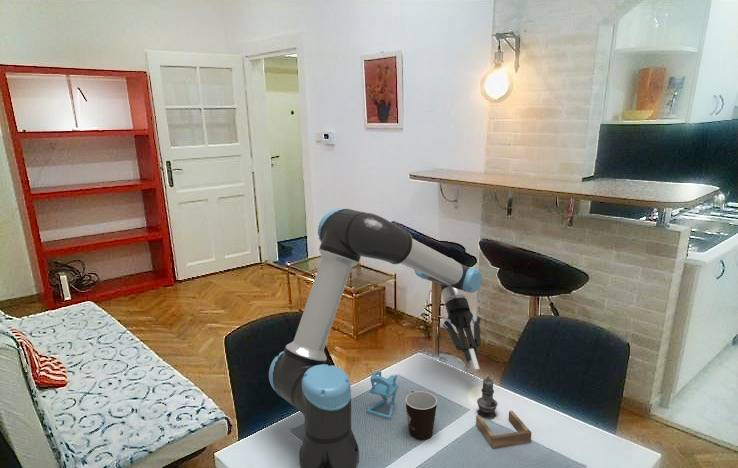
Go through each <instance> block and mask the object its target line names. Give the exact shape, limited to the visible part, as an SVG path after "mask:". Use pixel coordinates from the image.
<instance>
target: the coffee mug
mask: <svg viewBox="0 0 738 468" xmlns="http://www.w3.org/2000/svg"><path fill="white" fill-rule="evenodd" d="M404 400H405V408H406V415H407V424H408V432H409V435H410V437H411V438H413V439H414V440H417V441H427V440H429V439H431V438H432V436H433V433H434V425H435V420H436V413H437V407H438V405H437V404H438V399H437V397H436V396H435V395H434V394H432V393H431V392H428V391H421V390H418V391H412V390H411V392H409V393H408V394H407V395H406V396H405V399H404Z"/></svg>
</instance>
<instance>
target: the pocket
mask: <svg viewBox="0 0 738 468" xmlns="http://www.w3.org/2000/svg"><path fill="white" fill-rule="evenodd" d="M508 422H509V423H510V424H511V425H512V426H513V428H514V429H515V430H516V432H510V433H502V434H494V433H493V431H492V430H491V428H490V427H489V426H488V425H487V423H486V422H485V420H484V418H482V417H480V415H475V426H476V428H477V430H478V431H479V432H480V433H481V434H482V436H483V437H484V439H485V440H486V442H487V444H488V445H489V446H490V447H491V448H492V449H493V450H494V449H498V448H499V449H500V448H505V447H512V446H518V445H524V444H529V443H531V442H532V432H531V430H530V429H529V428H528V426H526V424H525V423H524V421H522V420H521V419H520V417H518V415H517V414H516V413H515V412H514V410H509V411H508Z"/></svg>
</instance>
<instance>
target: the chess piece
mask: <svg viewBox="0 0 738 468" xmlns="http://www.w3.org/2000/svg"><path fill="white" fill-rule="evenodd" d="M480 391H481V392H482V395H481V397H479V398H478V399H477V400H476V404H477V406H478V408H479V409H478V410H477V416H479V415H480V417H481V418H482V419H486V420H492V419H495V418H496V417H497V413H496V409H497V407H498V405H499V404H498V402H497V400H496V399H494V393H495V390H494V380H493V379H491V378H490V376H487V377H486V378H484V379H483V381H482V388H481V390H480Z"/></svg>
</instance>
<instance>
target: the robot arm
mask: <svg viewBox="0 0 738 468" xmlns="http://www.w3.org/2000/svg"><path fill="white" fill-rule="evenodd" d="M318 224H319V225H318V226H317V236H318V239H319V242H320V245H319V249H318V251H319V254H320V256H321V260H320V261H319V266H318V269H317V271H316V274H315V277H314V280H313V283H312V286H311V289H310V292H309V295H308V298H307V301H306V303H305V306H304V309H303V313H302V315H301V318H300V321H299V324H298V327H297V329H296V332H295V336H294V338H293V340H292V341H291V342H290V343H288V344H286V345H285V346H284V347H285V348H284V350H283V351H281V352H279V354H278V355H277V356H275V357H274V358H273V359H272V361H271V364H270V366H269V369H268V380H269V381H268V382H269V383H270V386H271V387H272V389H273V390H274V391H275V392H276V394H277V395H278V396H279V397H280V398H282V399H284V400H285V401H286V402H288V403H289V404H290V405H292V406H293V408H295V409H296V410H298V411H299V412H301V414H302V415H303V419H304V422H303V423H304V437H303V440H302V443H301V445H300V449H299V453H298V455H299V456H298V457H299V458H298V459H299V461H298V462H299V467H300V468H356V467H357V466H358V464H359V461H360V449H359V444H358V442H357V439H356V438H355V435H354V432H353V430H352V429H353V428H352V389H351V387H352V386H351V382H350V377H349V375H348V374H347V372H346V371H344V369H342V368H340V367H339V366H336V365H334V364H332V365H329V364H326V362H327V359H328V358H327V355H326V353H325V348H326V344H327V341H328V338H329V335H330V333H331V330H332V326H333V324H334V321H335V318H336V315H337V311H338V308H339V306H340V304H341V303H340V302H341V299H342V297H343V294H344V291H345V287H346V285H347V282H348V279H349V275H350V273H351V270H352V268H353V267H354V266H356V265H358V264H359V263H360V260H361V257H363V258H369V259H375V260H378V261H379V260H380V261H384V262H387V263H389V264H391V265H399V264H401V265H403V266H404V267H408V268H409V269H412V270H414V272H415V275H416V276H418V278H421V279H422V280H423V279H424V280H426V281H429V282H432V283H436V284H438V285H439V286H440V287H439V288H440V291H441V293H442V298H443V301H444V303H445V309H446V314H447V320H445V321H444V322H443V323H442V327H443V328H445V330H447V332H448V335H449V338H450V339H451V340H452V342H453V344H454V346H455V348H456V349H457V351H462V353H464V357H465V360H466V362H469V365H470V369H471V372H472V373H476V372H477V371H479V370H480V366H479V361H478V360H479V353H478V350H477V349H478V348H479V347H480V346H481V345H482V341H481V330H480V329H481V328H480V324H481V320H482V319H481V317H480V316H478V317H476V316H474V314H473V313H472V312H471V308H470V305H469V302H468V299H467V295H466V292H467V293H476V292H477V291H478V290H479V289H480V287H481V285H482V281H483V278H482V277H483V276H482V273H481V271H480V270H479V269H478V268H477V269H476V268H474V267H473V266H466V265H464V264H463V263H460V262H458V261H456V260H455V259H454V258H452V257H448V256H447V255H445V254H443V253H441V252H439V251H437V250H436V249H434V248H432V247H430V246H427V245H426V244H424V243H421V242H419V241H418V240H416V239H415V238H413V236H412V235H411V233H410V232H408V231H407V230H405V229H404V228H402V227H400V226H398V225H396V224H395V223H393V222H391V221H389V220H388V219H386V218H384V217H382V216H380V215H378V214H374V213H371V212H364V211H360V210H355V209H349V208H334V209H332V210H330V211H328V212H327V213H325V214H324V216H323V217H322V218H321V219H320V221H319V223H318ZM471 323H472V324H473V332H472V326H471V325H472V324H471ZM454 327H455V329H454Z"/></svg>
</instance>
